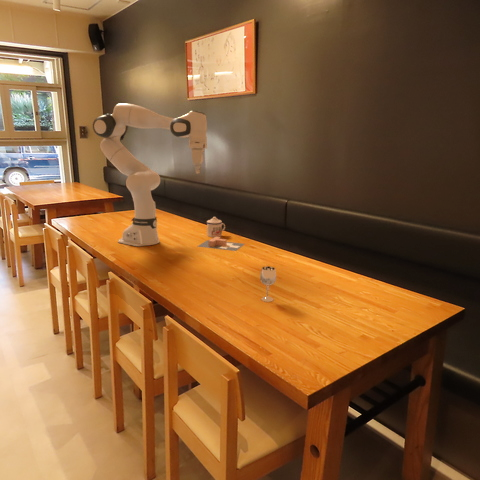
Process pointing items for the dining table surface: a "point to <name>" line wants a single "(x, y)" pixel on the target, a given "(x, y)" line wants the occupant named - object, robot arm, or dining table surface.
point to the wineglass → (268, 280)
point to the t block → (217, 242)
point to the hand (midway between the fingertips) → (198, 172)
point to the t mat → (228, 247)
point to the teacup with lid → (214, 227)
